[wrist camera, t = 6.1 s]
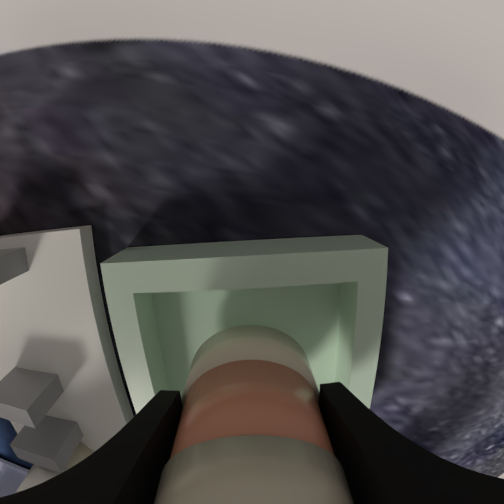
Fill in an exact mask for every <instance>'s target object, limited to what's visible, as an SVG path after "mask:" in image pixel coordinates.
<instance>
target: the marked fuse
mask: <svg viewBox="0 0 504 504" xmlns="http://www.w3.org/2000/svg"><path fill="white" fill-rule="evenodd" d="M181 401H182V405H183V409H182V413H181V417H180V421H179V425H178V429H177V432H176V436H175V440H174V444H173V448H172V452H171V456H170V459H169V461H168V462H167V463H166V464H165V466H164V468H163V470H162V473H161V477H160V481H159V485H158V489H157V493H156V497H155V501H154V504H354V502H353V499H352V495H351V492H350V489H349V486H348V482H347V479H346V476H345V473H344V470H343V467H342V465H341V463H340V462H339V460H338V459H337V458H336V457H335V455H334V452H333V448H332V445H331V442H330V438H329V435H328V432H327V429H326V425H325V422H324V419H323V415H322V412H321V409H320V406H319V391H318V388H317V385H316V382H315V379H314V376H313V373H312V370H311V367H310V364H309V361H308V358H307V355H306V354H305V352H304V350H303V349H302V347H301V346H300V345H299V344H298V343H297V342H296V341H295V340H294V339H293V338H292V337H290V336H289V335H287V334H285V333H283V332H282V331H280V330H277V329H274V328H271V327H267V326H261V325H240V326H235V327H230V328H227V329H225V330H222V331H220V332H218V333H216V334H214V335H213V336H211V337H210V338H208V339H207V340H206V341H205V342H204V343H203V344H202V345H201V346H200V347H199V349H198V350H197V352H196V353H195V356H194V358H193V360H192V364H191V367H190V371H189V374H188V378H187V381H186V385H185V388H184V392H183V396H182V400H181Z"/></svg>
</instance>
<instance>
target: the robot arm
mask: <svg viewBox="0 0 504 504" xmlns="http://www.w3.org/2000/svg"><path fill="white" fill-rule="evenodd" d="M319 406H320V409H321V412H322V415H323V419H324V422H325V425H326V429H327V432H328V435H329V438H330V442H331V445H332V448H333V452H334V455H335V457H336V458H337V459H338V460H339V462H340V463H341V465H342V467H343V470H344V473H345V476H346V479H347V482H348V486H349V489H350V492H351V495H352V499H353V502H354V504H504V479H501V478H497V477H493V476H489V475H485V474H482V473H478V472H475V471H472V470H469V469H466V468H464V467H461V466H459V465H456V464H454V463H451V462H449V461H447V460H445V459H442V458H440V457H438V456H436V455H434V454H433V453H431V452H429V451H427V450H425V449H424V448H422V447H420V446H418V445H416V444H415V443H413V442H412V441H410V440H409V439H407V438H406V437H404V436H403V435H401V434H400V433H399V432H397V431H396V430H394V429H393V428H392V427H390V426H389V425H388V424H387V423H385V422H384V421H383V420H382V419H381V418H379V417H378V416H377V415H376V414H375V413H373V412H372V411H371V410H370V409H369V408H368V407H367V406H365V405H364V404H363V403H362V402H361V401H360V400H359V399H358V398H357V397H356V396H355V395H354V394H353V393H351V392H350V391H349V390H348V389H347V388H346V387H345V386H344V385H343V384H342V383H341V382H333V383H325V384H320V390H319ZM182 409H183V405H182V401H181V395H180V391H172V390H160V391H159V392H158V393H157V394H156V395H155V396H154V397H153V398H152V399H151V400H150V401H149V402H148V403H147V404H146V405H145V406H144V407H143V408H142V409H141V410H140V411H139V412H138V413H137V414H136V415H135V416H134V417H133V418H132V419H131V420H130V421H129V422H128V423H127V424H126V425H125V426H124V427H123V428H122V429H121V430H120V431H119V432H118V433H116V434H115V435H114V436H113V437H112V438H111V439H109V440H108V441H107V442H106V443H105V444H104V445H102V446H101V447H100V448H99V449H98V450H96V451H95V452H94V453H92V454H91V455H89V456H88V457H87V458H85V459H84V460H82V461H81V462H79V463H78V464H76V465H74V466H73V467H71V468H70V469H68V470H66V471H64V472H62V473H60V474H59V475H57V476H55V477H53V478H51V479H49V480H47V481H45V482H43V483H41V484H38V485H36V486H33V487H31V488H28V489H26V490H23V491H20V492H17V493H16V491H17V490H18V488H19V486H20V485H21V483H22V482H23V480H24V478H25V477H26V475H27V473H28V472H29V470H28V469H26V468H23V467H21V466H18V465H16V464H13V463H11V462H9V461H6V460H4V459H2V458H0V504H154V501H155V497H156V493H157V489H158V485H159V481H160V477H161V473H162V470H163V468H164V466H165V464H166V463H167V462H168V461H169V459H170V456H171V452H172V448H173V444H174V440H175V436H176V432H177V429H178V425H179V421H180V417H181V413H182Z"/></svg>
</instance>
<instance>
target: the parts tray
mask: <svg viewBox="0 0 504 504" xmlns="http://www.w3.org/2000/svg"><path fill="white" fill-rule="evenodd" d="M387 264H388V248H387V247H385V246H383V245H381V244H379V243H377V242H375V241H373V240H371V239H369V238H367V237H365V236H363V235H344V236H323V237H302V238H282V239H263V240H245V241H227V242H209V243H192V244H176V245H160V246H144V247H128V248H126V249H124V250H122V251H120V252H119V253H117V254H115V255H114V256H112V257H110V258H109V259H107V260H105V261H104V262H102V263H100V265H101V272H102V278H103V284H104V289H105V295H106V300H107V305H108V310H109V315H110V319H111V324H112V328H113V333H114V337H115V341H116V345H117V349H118V353H119V357H120V361H121V365H122V368H123V372H124V376H125V379H126V383H127V386H128V389H129V393H130V396H131V399H132V402H133V405H134V409H135V412H136V414H137V413H138V412H139V411H140V410H141V409H142V408H143V407H144V406H145V405H146V404H147V403H148V402H149V401H150V400H151V399H152V398H153V397H154V396H155V395H156V394H157V393H158V392H159V391H160V390H172V391H180V395H181V400H182V396H183V392H184V388H185V385H186V381H187V378H188V374H189V371H190V367H191V364H192V360H193V358H194V356H195V353H196V352H197V350H198V349H199V347H200V346H201V345H202V344H203V343H204V342H205V341H206V340H207V339H208V338H210V337H211V336H213V335H214V334H216V333H218V332H220V331H222V330H225V329H227V328H230V327H235V326H240V325H261V326H267V327H271V328H274V329H277V330H280V331H282V332H283V333H285V334H287V335H289V336H290V337H292V338H293V339H294V340H295V341H296V342H297V343H298V344H299V345H300V346H301V347H302V349H303V350H304V352H305V354H306V355H307V358H308V361H309V364H310V367H311V370H312V373H313V376H314V379H315V382H316V385H317V388H318V391H319V390H320V384H325V383H333V382H341V383H342V384H343V385H344V386H345V387H346V388H347V389H348V390H349V391H350V392H351V393H353V394H354V395H355V396H356V397H357V398H358V399H359V400H360V401H361V402H362V403H363V404H364V405H365V406H367V407H368V408H369V409H370V404H371V399H372V394H373V388H374V382H375V376H376V370H377V364H378V357H379V350H380V342H381V334H382V325H383V316H384V306H385V294H386V281H387Z"/></svg>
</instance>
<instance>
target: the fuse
mask: <svg viewBox="0 0 504 504" xmlns="http://www.w3.org/2000/svg"><path fill="white" fill-rule="evenodd" d="M92 453H94V451H93V450H92V449H90V448H89V447H87V446H86V445H84V444H82V443H81V442H79V444H78V446H77V447H76V449H75V451H74V453H73V455H72V456H71V458H70V460H69V462H68V464H67V465H66V467H65V469H64V471H66V470H68V469H70V468H71V467H73V466H74V465H76V464H78V463H79V462H81V461H82V460H84V459H85V458H87V457H88V456H89V455H91V454H92ZM64 471H63V472H64ZM59 474H60V472H56V471H53V470H50V469H47V468H44V467H41V466H38V465H35V464H33V466H32V467H31V469H30V470H29V472H28V473H27V475H26V477H25V478H24V480H23V482H22V483H21V485H20V486H19V488H18V490H17V491H16V493H17V492H20V491H23V490H26V489H28V488H31V487H33V486H36V485H38V484H41V483H43V482H45V481H47V480H49V479H51V478H53V477H55V476H57V475H59Z"/></svg>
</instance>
